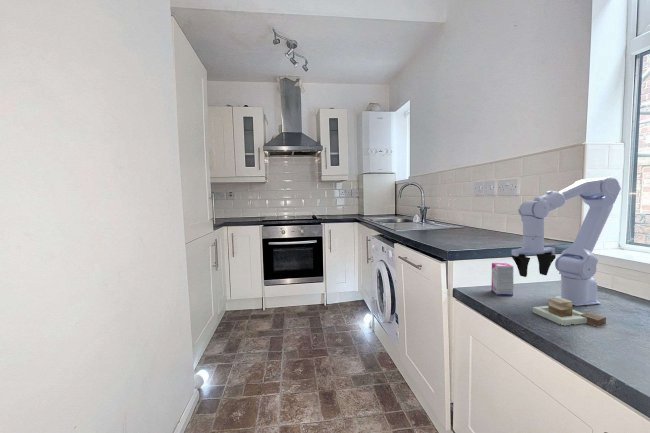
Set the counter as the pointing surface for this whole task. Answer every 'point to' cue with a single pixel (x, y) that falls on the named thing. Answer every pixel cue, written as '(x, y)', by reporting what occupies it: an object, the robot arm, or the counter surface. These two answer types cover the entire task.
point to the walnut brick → (594, 319)
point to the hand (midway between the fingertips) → (533, 275)
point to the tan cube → (560, 307)
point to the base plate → (568, 320)
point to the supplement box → (502, 279)
